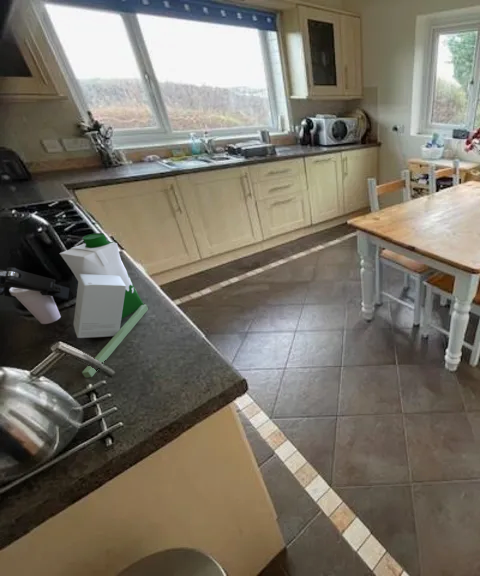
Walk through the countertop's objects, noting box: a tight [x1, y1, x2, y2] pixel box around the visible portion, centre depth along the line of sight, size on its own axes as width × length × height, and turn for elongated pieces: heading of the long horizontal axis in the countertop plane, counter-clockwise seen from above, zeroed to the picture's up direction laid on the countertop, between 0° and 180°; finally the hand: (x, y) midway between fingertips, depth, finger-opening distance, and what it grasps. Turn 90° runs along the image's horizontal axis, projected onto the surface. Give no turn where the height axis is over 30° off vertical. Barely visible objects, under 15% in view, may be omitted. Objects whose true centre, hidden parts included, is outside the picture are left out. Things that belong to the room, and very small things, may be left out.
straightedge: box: [81, 304, 149, 379], centre depth 75 cm, size 1×24×2 cm, turn 8°
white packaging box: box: [72, 274, 126, 339], centre depth 74 cm, size 7×7×13 cm
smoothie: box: [9, 287, 62, 325], centre depth 76 cm, size 6×6×14 cm
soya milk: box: [59, 232, 145, 321], centre depth 80 cm, size 9×9×20 cm
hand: (50, 294), depth 80 cm, fingers closed on smoothie, 6 cm apart
